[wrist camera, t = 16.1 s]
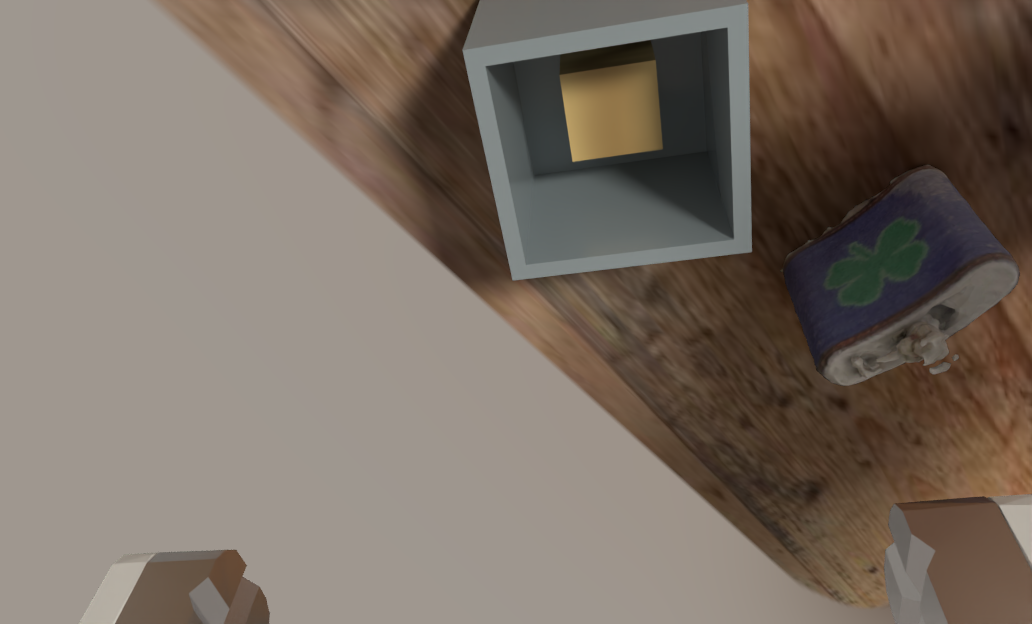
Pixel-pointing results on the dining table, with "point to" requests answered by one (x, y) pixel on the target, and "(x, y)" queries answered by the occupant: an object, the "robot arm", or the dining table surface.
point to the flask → (896, 279)
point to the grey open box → (624, 178)
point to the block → (611, 100)
